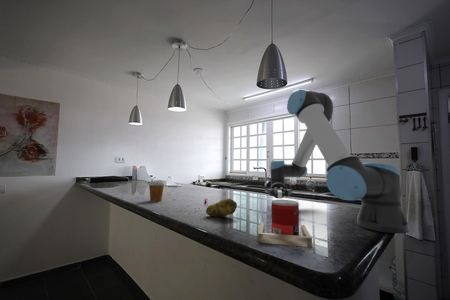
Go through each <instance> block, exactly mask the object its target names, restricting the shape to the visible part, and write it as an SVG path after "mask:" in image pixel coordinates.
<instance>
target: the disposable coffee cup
mask: <svg viewBox="0 0 450 300" xmlns="http://www.w3.org/2000/svg"><path fill="white" fill-rule="evenodd" d="M148 182H149V183H148V187H149V199H150V200H149V201H150V202H151V201H160V202H162V198H163V193H164V189H165V188H164V186H165V181H164V180H150V181H148Z"/></svg>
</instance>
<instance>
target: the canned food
mask: <svg viewBox="0 0 450 300" xmlns="http://www.w3.org/2000/svg"><path fill="white" fill-rule="evenodd" d="M270 203H271V209H270V210H271V213H270V214H271V217H270V218H271V233H273V234H284V235H296V236H300V217H299V216H300V215H299V214H300V213H299V211H300V209H299V206H300V205H299V202H298V201H297V200H296V201H295V200H292V199H273V200H271V202H270Z"/></svg>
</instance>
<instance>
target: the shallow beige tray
mask: <svg viewBox="0 0 450 300" xmlns="http://www.w3.org/2000/svg"><path fill="white" fill-rule="evenodd" d="M259 222H260V224H259V227H258V228H259V229H258V233H257V243H261V244H262V243H263V244H273V245H281V246H283V245H285V246H295V247H304V248H313V237H312V235H311V234H310V232H309V231H308V229H307V227H306V226H305V224H300V234H301V235H299V236H296V235H284V234H273V233H272V232H265V222H264V221H259Z"/></svg>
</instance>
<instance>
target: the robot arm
mask: <svg viewBox="0 0 450 300" xmlns="http://www.w3.org/2000/svg"><path fill="white" fill-rule="evenodd" d="M286 110H287V112H288V113H289V115H294V116H296V118H297V120H298V122H300V123H301V124H304V125H305V127H306V130H305V132H304V134H303V137H302V139H301V141H300V143H299V146H298V148H297V151H296V153H295V155H294V158H293V160H292V161H291V164H289V163H285V161H284V160H271V161H270V165H269V166H270V168H269V169H270V188H267V187H266V188H264V194H265V195H268V196H271V197H273V198H275V199H277V200H283V198H284V197H287V198H288V197H290V196H292V195H294V194H293V193H294V192H293V190H294V189H292V188H290V189H287V187H286V186H285V184H286V183H285V181H286V180H285V179H286V178H296V179H297V178H304V177H306V176H307V175H308V167H307V164H308V163H309V160H310V158H311V156H312V154H313V152H314V150H315V147H316V146H317V148H318V150H319V151H320V153H321V155H322V156H323V158H324V161H325V162H326V163H327V167H326V175H325V176H326V180H325V183H326V186H327V189H328V190H329V191H330V193H331V194H332V195H333V196H335V197H336V198H337V199H340V200H342V201H343V200H344V201H352V202H353V201H361V206H360V209H359V211H358V215H357V216H356V217H357V218H356V224H357V226H358V227H362V228H364V229H367V230H371V231H375V232H383V233H387V234H407V233H409V232H410V230H409V228H410V227H409V223H408V221H407V219H406V216H405V214H404V212H403V210H402V202H401V201H402V200H401V183H400V182H401V181H400V180H401V176H400V171H399V170H400V169H399V167H397V166H396V165H393V164H389V163H381V162H380V163H379V162H364V163H362V161H361V159H360V158H359V156H357V155H352V154H351V153H350V151H349V149H347V147H346V145H345V143H344V142H343V141H342V139H341V138H340V136H339V134H338V133H337V131H336V130H335V129H334V128H333V126H332V124H331V123H330V122H331V119H332V116H333V114H334V104H333V101H332V98H331V97H330V96H329V95H328V94H327V93H325V92H318V91H314V90H313V91H312V90H308V89H304V88H302V89H301V88H297V89H295V90H293V91H292V92H291V94H290V95H289V96H288V100H287V104H286Z"/></svg>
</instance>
